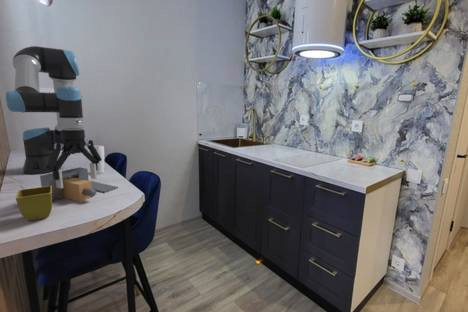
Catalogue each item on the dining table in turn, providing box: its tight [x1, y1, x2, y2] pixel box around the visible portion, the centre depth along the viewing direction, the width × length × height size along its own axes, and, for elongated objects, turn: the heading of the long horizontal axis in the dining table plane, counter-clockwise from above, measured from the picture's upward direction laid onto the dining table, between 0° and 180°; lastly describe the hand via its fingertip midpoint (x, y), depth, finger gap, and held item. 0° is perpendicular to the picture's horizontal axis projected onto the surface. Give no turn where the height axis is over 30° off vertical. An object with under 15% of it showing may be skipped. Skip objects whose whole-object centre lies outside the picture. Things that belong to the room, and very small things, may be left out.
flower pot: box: [15, 186, 53, 222], centre depth 79 cm, size 9×9×9 cm
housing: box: [39, 166, 89, 203], centre depth 99 cm, size 5×16×10 cm, turn 156°
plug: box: [61, 176, 97, 202], centre depth 98 cm, size 21×5×7 cm, turn 66°
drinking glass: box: [89, 144, 105, 175], centre depth 131 cm, size 7×7×15 cm
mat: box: [88, 179, 119, 194], centre depth 111 cm, size 22×7×1 cm, turn 66°
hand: (78, 182), depth 96 cm, fingers open, 13 cm apart
